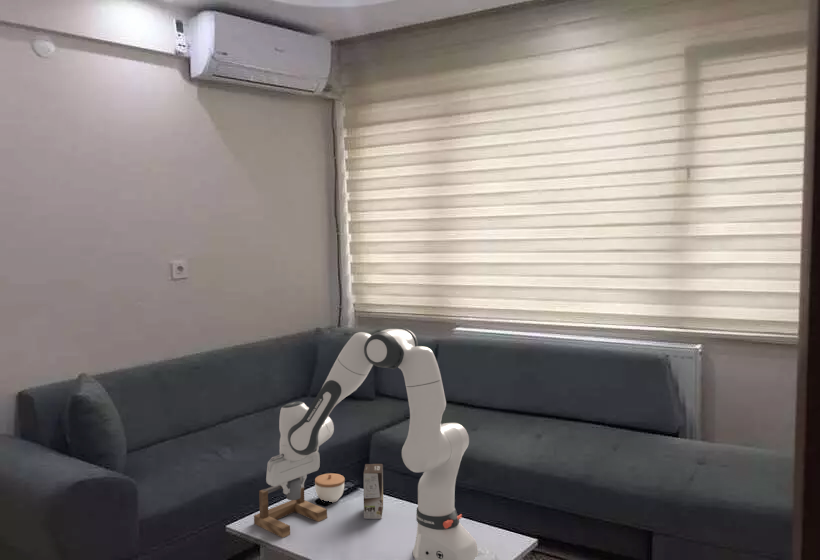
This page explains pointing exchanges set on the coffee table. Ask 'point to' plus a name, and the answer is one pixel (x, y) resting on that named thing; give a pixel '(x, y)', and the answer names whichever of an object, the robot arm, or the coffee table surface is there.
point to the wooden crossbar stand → (285, 512)
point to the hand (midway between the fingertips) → (293, 490)
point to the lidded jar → (329, 486)
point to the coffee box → (373, 491)
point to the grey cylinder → (294, 489)
